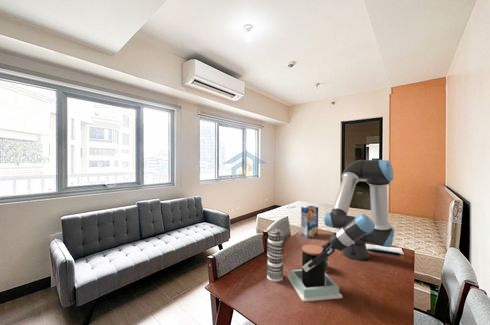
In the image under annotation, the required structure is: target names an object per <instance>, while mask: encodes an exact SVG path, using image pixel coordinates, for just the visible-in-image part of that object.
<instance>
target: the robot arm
mask: <svg viewBox="0 0 490 325" xmlns="http://www.w3.org/2000/svg"><path fill="white" fill-rule="evenodd" d="M360 180H365V181H366V184H368V185H369V194H370V195H369V196H370V197H369V198H370V216H371V217H369V216H368V215H367V214H366V213H361V214H359V215H356V216H353V215H348V212H349V209H350V205H351V202H352V199H353V195H354V191H355V188H356V185H357V183H359V181H360ZM393 180H394V171H393V165H392V162H390V160H388V159H387V160H386V159H358V160H354V161H353V162H352V163H349V165H347V166H346V168H345V169H344V170H343V172H342V175H341V183H340V185H339V189H338V192H337V195H336V197H335V200H334V204H333V206H332V210H331V211H327V212H326V213H324V216H323V222H324V225H325V226H326V227H329V228H332V229H337V231H336V232H334V233H333V234H331V235H329V241H328V242H326V243H325V244H323V245H322V246H321V247H322V248H324V249H322V252H321V253H320V254H319V255H318V256H316V257H315V258H314V259H312V258H311V261H309V262H308V263H306V264H305V265H304V266H302V265H301V269H302V268H303V269H304V270H305V271H306V272H307V271H308V270H310V269H311V268H313V267H314V266H318V265H319V264H320V263H321V262H322V261H323V260H325V259H326V258H329V257H330V256H331V255H333V253H335V250H337V251H340V252H342V254H343V255H344V256H345V257H347V258H350V259H352V260H355V261H367V260H369V258H370V256H369V255H370V254H369V250H368V248H367V245H366V244H373V245H377V246H381V247H385V248H391V247H392V245H393V242H394V236H395V230H396V229H395V228H393V227H392V224H391V223H390V222H389V209H388V208H389V207H388V204H389V203H388V186H389V185H390V184H391V181H392V182H393Z"/></svg>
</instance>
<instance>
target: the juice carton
mask: <svg viewBox="0 0 490 325" xmlns="http://www.w3.org/2000/svg"><path fill="white" fill-rule="evenodd" d="M300 214H301V215H300V224H301V225H300V236H302V237H303V236H304V237H303V238H306V239H310V238H311V237H312V238H315V237H318V236H319V207H318V206H315V205H305V206H301V211H300Z"/></svg>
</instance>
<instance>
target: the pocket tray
mask: <svg viewBox="0 0 490 325" xmlns="http://www.w3.org/2000/svg"><path fill="white" fill-rule="evenodd" d="M289 272H290V273H289V275H287V279H288V281H289V282H290V283H291V286H292V287H293V288H294V290H295V292H296V293H297V295H298V296H299V298H300V300H301V301H302V302H305V303H306V302H315V301H324V300H333V299H334V300H335V299H342V298H343V295H342V294H341V293H340V286H339V285H338V284H337V283H336V282H335V281H334V280H333V279H332V278H331V277H330V276H328V274H327V272H325V286H320V287H308V288H306V287H305V286H304V284H303V283H302V268H300V269H291V270H290V271H289Z"/></svg>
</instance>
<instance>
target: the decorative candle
mask: <svg viewBox="0 0 490 325" xmlns="http://www.w3.org/2000/svg"><path fill="white" fill-rule="evenodd" d="M267 235H268V237H267V239H266V250H267V251H266V252H267V254H266V255H267V263H266V264H267V265H266V266H267V267H266V278H267V279H268V280H269V281H271V282H280V281H283V278H284V277H283V276H284V274H283V273H284V271H283V270H284V264H283V263H284V262H283V257H284V251H285V250H284V246H285V244H284V243H285V242H284V239H283V236H284V234H283V232H282V231H281V230H280V229H278V228H272V229H270V230H269V231H268V232H267Z"/></svg>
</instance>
